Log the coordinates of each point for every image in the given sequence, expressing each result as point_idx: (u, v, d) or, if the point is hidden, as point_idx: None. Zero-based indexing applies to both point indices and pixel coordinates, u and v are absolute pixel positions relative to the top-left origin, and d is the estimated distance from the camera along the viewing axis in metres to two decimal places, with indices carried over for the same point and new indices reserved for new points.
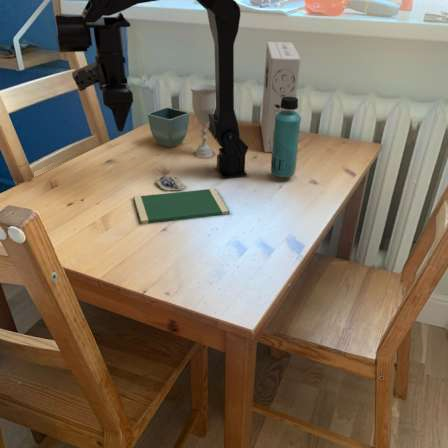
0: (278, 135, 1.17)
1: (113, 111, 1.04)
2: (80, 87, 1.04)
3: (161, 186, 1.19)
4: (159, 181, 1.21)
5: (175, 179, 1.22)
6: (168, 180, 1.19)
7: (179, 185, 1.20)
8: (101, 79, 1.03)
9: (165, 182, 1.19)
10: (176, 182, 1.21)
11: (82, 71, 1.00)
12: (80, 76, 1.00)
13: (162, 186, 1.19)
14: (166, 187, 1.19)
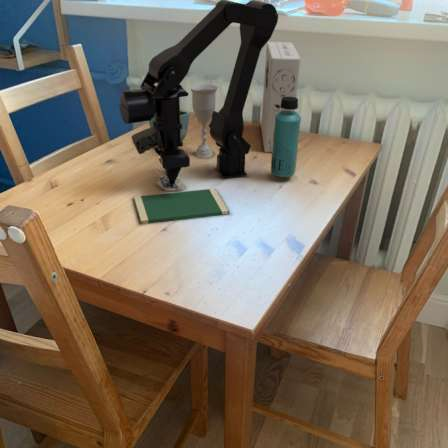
0: (278, 135, 1.17)
1: None
2: (139, 151, 1.11)
3: (161, 186, 1.19)
4: (159, 181, 1.21)
5: None
6: (168, 180, 1.19)
7: (179, 185, 1.20)
8: (159, 144, 1.11)
9: (165, 182, 1.19)
10: (176, 182, 1.21)
11: (143, 138, 1.08)
12: (141, 142, 1.08)
13: (162, 186, 1.19)
14: (166, 187, 1.19)
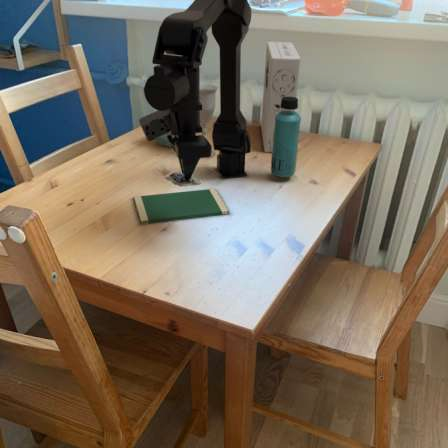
0: (278, 135, 1.17)
1: (183, 159, 0.93)
2: (149, 137, 0.90)
3: (175, 183, 0.97)
4: (170, 178, 0.99)
5: None
6: (182, 175, 0.98)
7: (195, 180, 0.99)
8: (174, 129, 0.89)
9: (179, 177, 0.97)
10: (191, 177, 1.00)
11: (154, 121, 0.86)
12: (151, 126, 0.87)
13: (176, 182, 0.97)
14: (181, 183, 0.97)
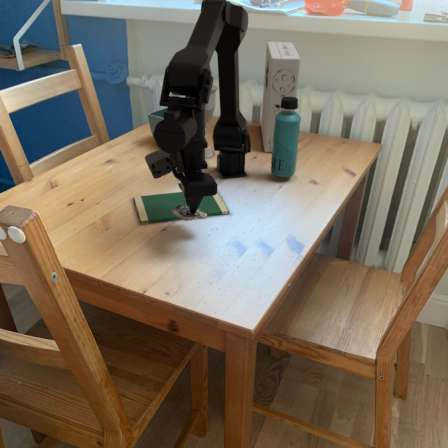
0: (278, 135, 1.17)
1: None
2: (155, 175, 0.91)
3: (180, 216, 0.98)
4: (176, 211, 1.00)
5: None
6: (187, 208, 0.99)
7: (201, 213, 1.00)
8: (179, 166, 0.90)
9: (184, 211, 0.98)
10: None
11: (160, 160, 0.87)
12: (158, 166, 0.88)
13: (181, 216, 0.98)
14: (187, 217, 0.98)
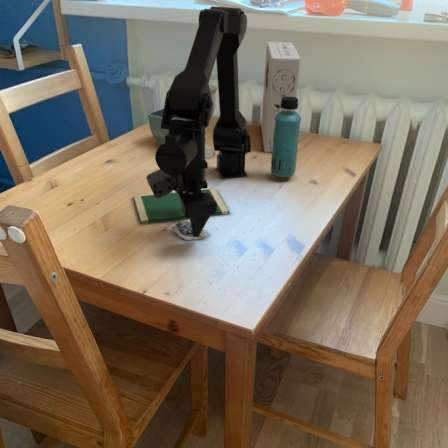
0: (278, 135, 1.17)
1: (192, 219, 0.94)
2: (156, 194, 0.93)
3: (181, 235, 1.01)
4: (176, 229, 1.02)
5: None
6: (188, 227, 1.01)
7: None
8: (180, 186, 0.93)
9: (185, 230, 1.01)
10: None
11: (162, 181, 0.89)
12: (159, 186, 0.90)
13: (182, 235, 1.01)
14: (187, 236, 1.01)
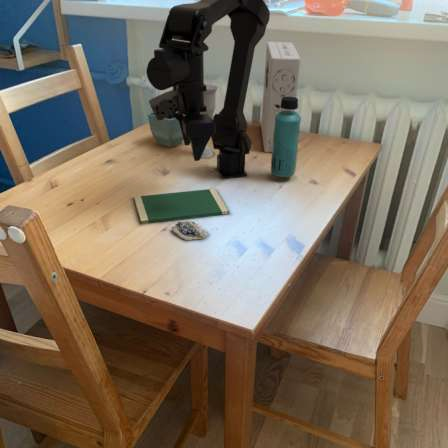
0: (278, 135, 1.17)
1: (193, 141, 1.00)
2: (158, 117, 0.99)
3: (181, 235, 1.01)
4: (176, 229, 1.02)
5: (194, 224, 1.04)
6: (188, 227, 1.01)
7: (200, 232, 1.03)
8: (181, 108, 0.99)
9: (185, 230, 1.01)
10: (196, 228, 1.03)
11: (163, 101, 0.95)
12: (161, 106, 0.96)
13: (182, 235, 1.01)
14: (187, 236, 1.01)
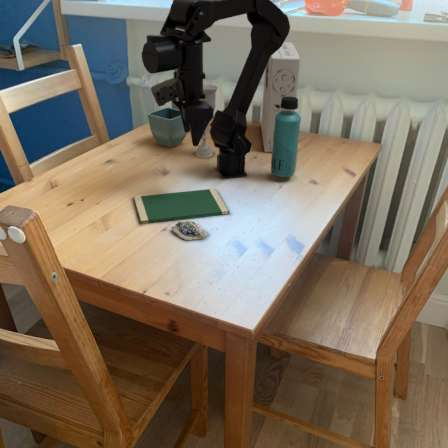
0: (278, 135, 1.17)
1: (191, 126, 1.05)
2: (159, 103, 1.04)
3: (181, 235, 1.01)
4: (176, 229, 1.02)
5: (194, 224, 1.04)
6: (188, 227, 1.01)
7: (200, 232, 1.03)
8: (181, 95, 1.04)
9: (185, 230, 1.01)
10: (196, 228, 1.03)
11: (164, 87, 1.01)
12: (162, 92, 1.01)
13: (182, 235, 1.01)
14: (187, 236, 1.01)
